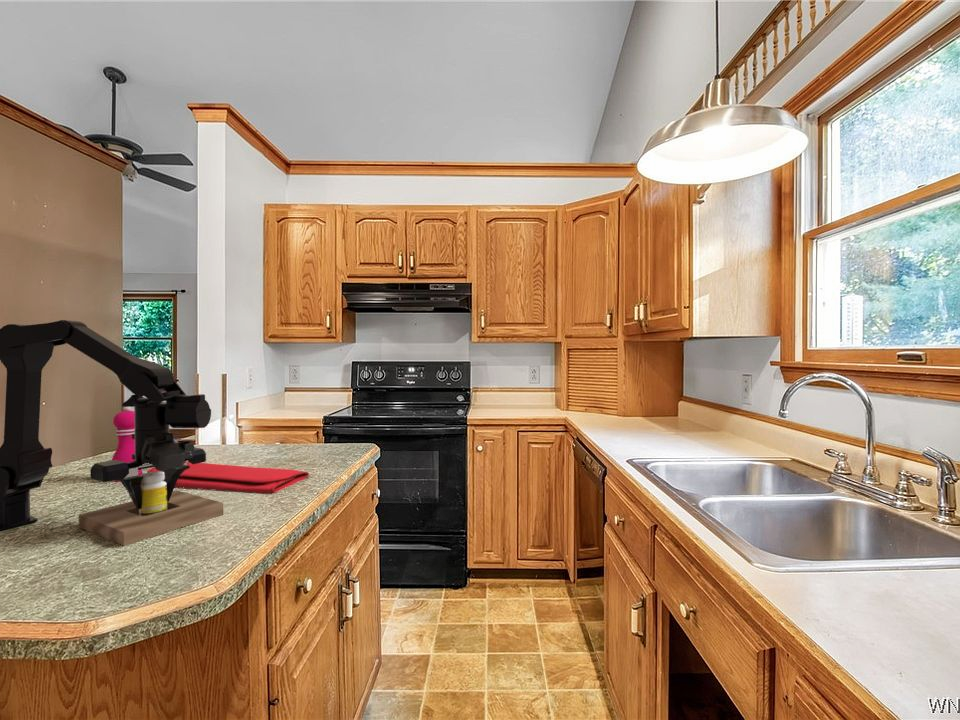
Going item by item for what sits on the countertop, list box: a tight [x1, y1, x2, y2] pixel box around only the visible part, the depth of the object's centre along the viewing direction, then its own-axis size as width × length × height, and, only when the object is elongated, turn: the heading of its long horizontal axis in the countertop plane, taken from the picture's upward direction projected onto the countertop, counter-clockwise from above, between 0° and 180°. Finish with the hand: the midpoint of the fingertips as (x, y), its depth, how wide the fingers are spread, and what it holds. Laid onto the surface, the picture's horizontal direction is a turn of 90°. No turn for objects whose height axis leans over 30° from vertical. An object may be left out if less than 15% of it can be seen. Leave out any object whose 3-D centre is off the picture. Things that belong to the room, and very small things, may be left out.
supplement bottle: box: [139, 471, 167, 517], centre depth 94 cm, size 5×5×8 cm
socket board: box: [78, 490, 224, 547], centre depth 94 cm, size 18×18×2 cm
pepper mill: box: [111, 406, 144, 482], centre depth 125 cm, size 7×7×20 cm
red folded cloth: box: [139, 461, 310, 494], centre depth 123 cm, size 16×41×4 cm, turn 78°
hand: (153, 504), depth 94 cm, fingers closed on supplement bottle, 5 cm apart
